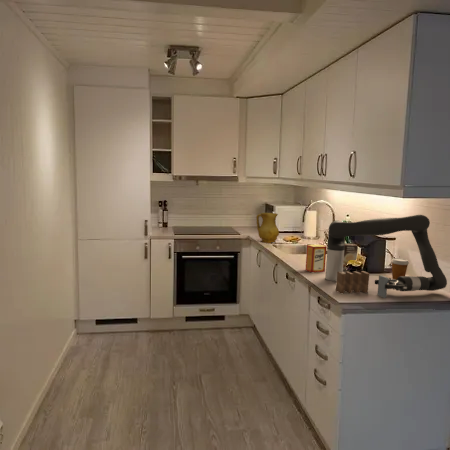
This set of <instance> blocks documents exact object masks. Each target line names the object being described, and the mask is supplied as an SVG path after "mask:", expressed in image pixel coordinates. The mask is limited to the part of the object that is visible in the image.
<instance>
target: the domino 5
mask: <svg viewBox="0 0 450 450" xmlns="http://www.w3.org/2000/svg"><path fill="white" fill-rule="evenodd" d="M388 278H389V277H387V276H385V275H383V274H381V275H380V274H379V275H378V280H379V282H378V284H377V294H376V295H378V296H379V297H381V298H384V299H385V298H386V299H387V292H388V289H385V284H388Z"/></svg>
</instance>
